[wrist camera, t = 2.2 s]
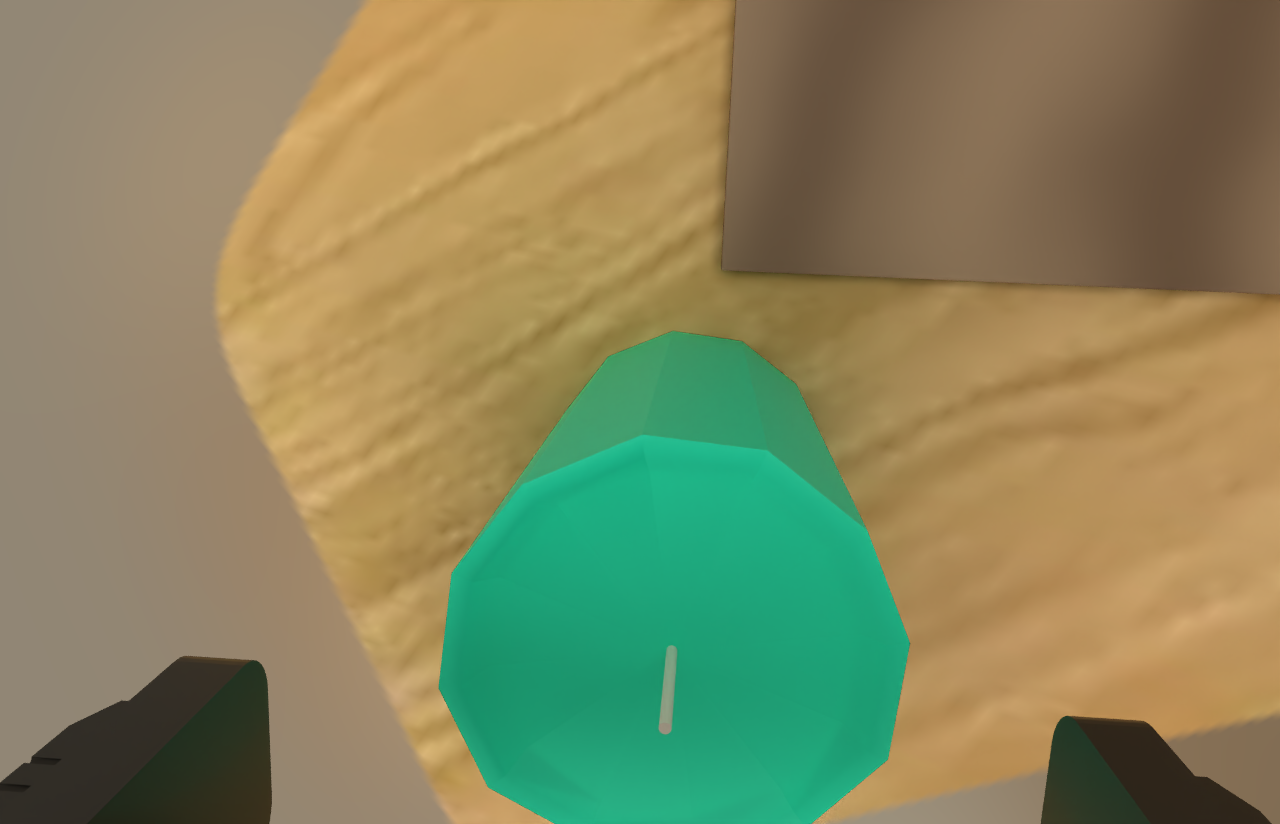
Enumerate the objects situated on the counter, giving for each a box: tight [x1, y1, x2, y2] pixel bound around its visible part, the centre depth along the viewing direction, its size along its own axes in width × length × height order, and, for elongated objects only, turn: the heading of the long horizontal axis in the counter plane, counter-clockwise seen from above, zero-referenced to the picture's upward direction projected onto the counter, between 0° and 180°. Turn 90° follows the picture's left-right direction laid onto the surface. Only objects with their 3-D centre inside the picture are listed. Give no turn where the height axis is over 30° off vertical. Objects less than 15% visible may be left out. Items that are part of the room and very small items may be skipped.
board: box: [721, 0, 1280, 294], centre depth 20 cm, size 20×8×1 cm, turn 88°
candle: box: [439, 331, 910, 824], centre depth 17 cm, size 6×6×12 cm
